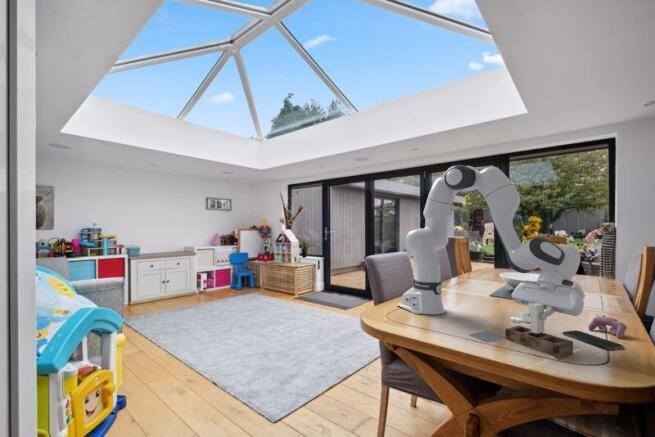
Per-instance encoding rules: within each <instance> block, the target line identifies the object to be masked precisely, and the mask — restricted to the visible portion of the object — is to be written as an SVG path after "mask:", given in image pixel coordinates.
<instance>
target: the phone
mask: <svg viewBox="0 0 655 437" xmlns="http://www.w3.org/2000/svg"><path fill="white" fill-rule="evenodd" d="M561 334H562V335H563V336H565V337H567V338H571V339H574V340H577V341H579V342H582V343H584V344H588V345H589V346H593V347H595V348H598V349H601V350H605V351H615V349H617V350H621V349H620V348H623V349H624V345H623V344H620V343H618V342H614V341H612V340H608V339H605V338H602V337H599V336H596V335H593V334H590V333H588V332H584V331H580V330H577V329H576V330H567V331H562V333H561Z"/></svg>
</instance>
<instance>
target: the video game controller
mask: <svg viewBox="0 0 655 437" xmlns="http://www.w3.org/2000/svg"><path fill="white" fill-rule="evenodd" d="M607 326H608V327H609V326H610V328H609V330H608V327H607ZM587 328H588V330H589V331H594V330H595V329H596V328H598V330H599V331H600V332H602V333H606V332H608V331H609V333H610V334H612V335H614V336H616V339H621V338H623V336H624V335H625V333H626V331H627V329H628V328H627V325H626V324H625V323H623V322H622V321H620V320H618V319H616V318H613V317H608V316H598V315H597V316H596V317H593V318H592V320H591V322H589V324H588V326H587Z"/></svg>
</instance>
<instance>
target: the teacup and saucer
mask: <svg viewBox="0 0 655 437" xmlns="http://www.w3.org/2000/svg"><path fill="white" fill-rule="evenodd" d="M519 314H520V318H519V317H516V316H511V317H510V320H511V321H512V322H515V323H517V324H520V325H525V326H531V323H529V322H530V317H529V316H528V312H524V311H520V313H519Z"/></svg>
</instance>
